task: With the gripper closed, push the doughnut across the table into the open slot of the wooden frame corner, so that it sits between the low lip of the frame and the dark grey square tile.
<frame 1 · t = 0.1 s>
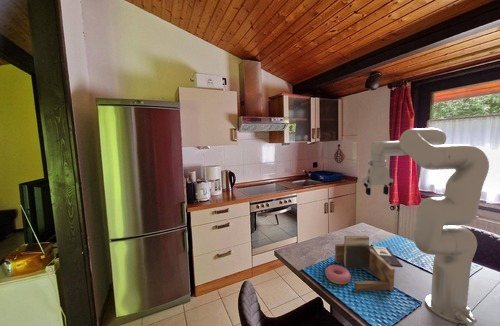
hand: (376, 194, 119), 31 cm above the table, fingers open, 9 cm apart
wooden frame: (376, 273, 100), on the table
doughnut: (337, 278, 97), on the table
dark grey square tile: (357, 267, 104), on the table
chocolate bar: (384, 257, 114), on the table
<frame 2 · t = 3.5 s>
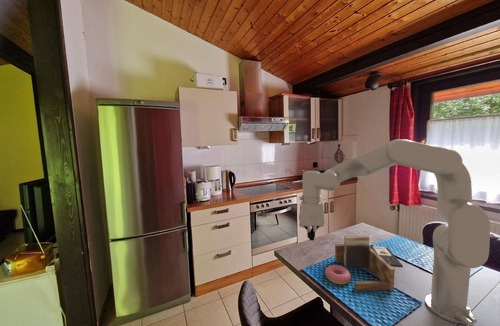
hand: (311, 239, 95), 19 cm above the table, fingers closed
nothing on the table moved.
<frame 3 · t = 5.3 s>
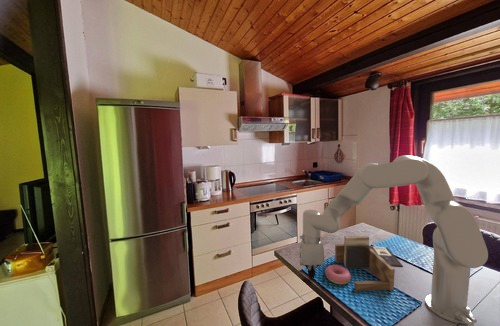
hand: (311, 276, 97), 1 cm above the table, fingers closed
nothing on the table moved.
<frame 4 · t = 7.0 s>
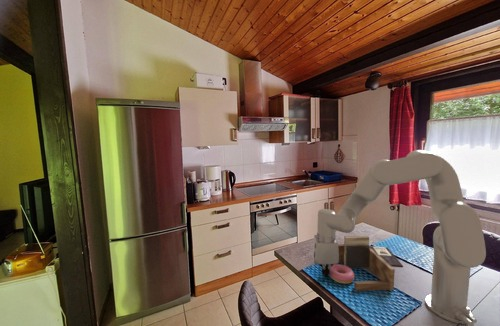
hand: (325, 275, 97), 1 cm above the table, fingers closed
doughnut: (341, 277, 97), on the table, touching gripper
everything else where it was.
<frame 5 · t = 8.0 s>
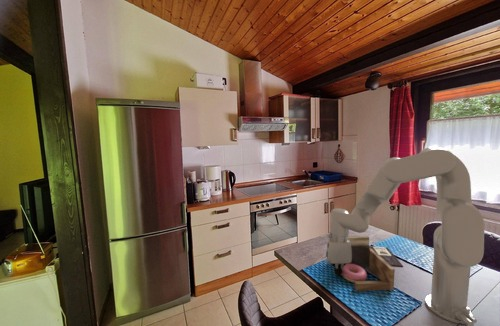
hand: (337, 275, 97), 1 cm above the table, fingers closed
doughnut: (353, 277, 98), on the table
everything else where it was.
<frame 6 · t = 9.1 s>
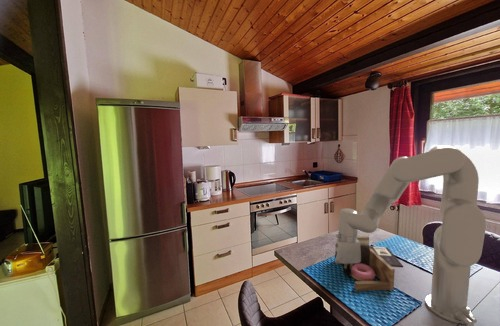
hand: (346, 275, 97), 1 cm above the table, fingers closed
doughnut: (361, 276, 98), on the table, touching gripper
everything else where it was.
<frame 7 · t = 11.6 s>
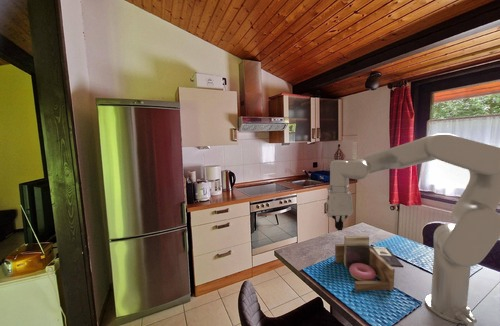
hand: (339, 229, 95), 23 cm above the table, fingers closed
doughnut: (362, 276, 98), on the table
everything else where it was.
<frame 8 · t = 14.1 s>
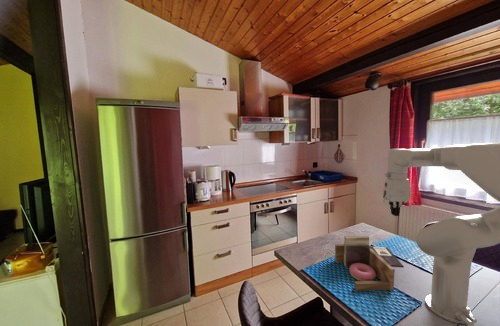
hand: (395, 215, 98), 27 cm above the table, fingers closed
nothing on the table moved.
at the end: doughnut inside the target area (1.1 cm from its centre), on the table; doughnut moved 11.7 cm from its start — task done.
